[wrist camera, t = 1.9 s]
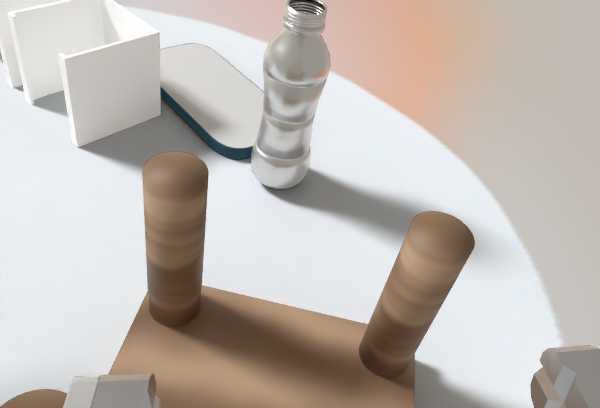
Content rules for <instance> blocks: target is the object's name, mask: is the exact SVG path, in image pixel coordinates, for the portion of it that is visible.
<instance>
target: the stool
mask: <svg viewBox="0 0 600 408" xmlns="http://www.w3.org/2000/svg"><path fill="white" fill-rule="evenodd" d="M142 174H143V195H144V216H145V237H146V258H147V279H148V292H147V294H146V296H145V298H144V300H143V302H142V304H141V306H140V308H139V311H138V313H137V315H136V317H135V319H134V321H133V323H132V325H131V327H130V330H129V332H128V334H127V336H126V338H125V340H124V342H123V344H122V346H121V349H120V351H119V353H118V355H117V357H116V359H115V361H114V363H113V365H112V367H111V370H110V372H109V374H108V375H126V374H154V376H155V380H156V384H157V385H156V392H155V395H156V396H157V397H158V398H160V404H161V408H414V357H415V352H416V350H417V348H418V347H419V345H420V343H421V341H422V339H423V338H424V336H425V334H426V332H427V331H428V329H429V327H430V325H431V323H432V322H433V320H434V318H435V316H436V315H437V313H438V311H439V309H440V307H441V306H442V304H443V302H444V300H445V299H446V297H447V295H448V293H449V291H450V290H451V288H452V286H453V284H454V283H455V281H456V279H457V277H458V275H459V274H460V272H461V270H462V268H463V266H464V265H465V263H466V261H467V259H468V258H469V256H470V254H471V252H472V250H473V248H474V245H475V241H474V237H473V234H472V233H471V231H470V229H469V228H468V227H467V226H466V225H465V224H464V223H463V222H461V221H460V220H459V219H457V218H455V217H454V216H451V215H449V214H446V213H443V212H438V211H427V212H423V213H420V214H419V215H417V216H416V217H415V218H414V219H413V221H412V223H411V226H410V228H409V230H408V233H407V235H406V237H405V240H404V242H403V244H402V247H401V249H400V252H399V254H398V256H397V259H396V261H395V263H394V266H393V268H392V270H391V273H390V275H389V277H388V280H387V282H386V284H385V287H384V289H383V291H382V294H381V296H380V298H379V301H378V303H377V305H376V308H375V310H374V312H373V315H372V317H371V320H370V322H369V324H364V323H360V322H355V321H351V320H347V319H343V318H338V317H334V316H330V315H326V314H321V313H317V312H313V311H309V310H304V309H300V308H296V307H292V306H287V305H283V304H279V303H275V302H270V301H266V300H262V299H258V298H253V297H249V296H245V295H241V294H236V293H232V292H228V291H224V290H219V289H215V288H211V287H207V286H202V272H203V255H204V238H205V222H206V205H207V189H208V168H207V166H206V165H205V163H204V162H203V161H202V160H201V159H199V158H198V157H196V156H194V155H192V154H189V153H184V152H165V153H161V154H158V155H155V156H154V157H152V158H150V159H149V160H148V161H147V162H146V163H145V165H144V167H143V171H142ZM66 397H67V393H64V392H61V391H58V390H52V389H41V390H34V391H30V392H26V393H23V394H21V395H18V396H16V397H15V398H13V399H11V400H9V401H8V402H6V403H5V404H3V405H2V406H1V407H0V408H63V406H64V403H65V400H66Z"/></svg>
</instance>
